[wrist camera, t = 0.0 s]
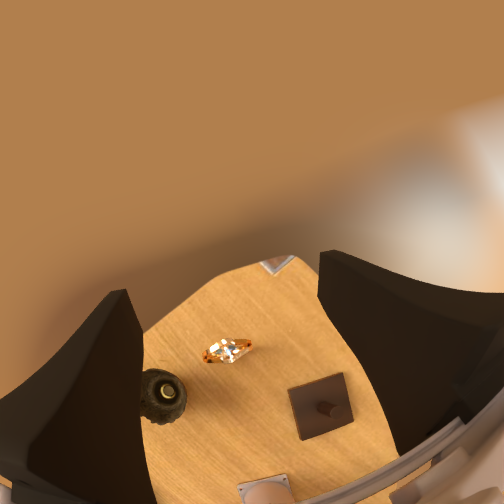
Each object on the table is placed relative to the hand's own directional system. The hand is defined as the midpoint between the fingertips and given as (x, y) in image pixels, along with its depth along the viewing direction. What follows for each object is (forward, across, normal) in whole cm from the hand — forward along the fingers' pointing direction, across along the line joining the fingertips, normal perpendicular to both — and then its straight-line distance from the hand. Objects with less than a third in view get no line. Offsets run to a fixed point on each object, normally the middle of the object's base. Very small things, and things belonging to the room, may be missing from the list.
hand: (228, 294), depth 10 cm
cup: (+17, +10, +28) cm, 34 cm away
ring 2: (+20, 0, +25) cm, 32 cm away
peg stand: (+11, -12, +33) cm, 37 cm away
